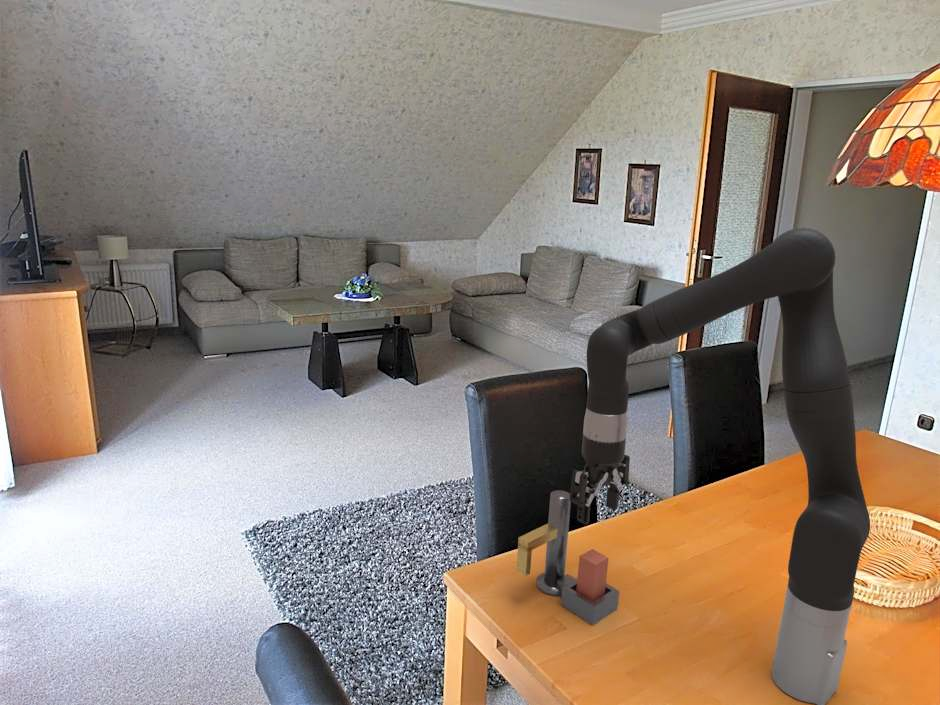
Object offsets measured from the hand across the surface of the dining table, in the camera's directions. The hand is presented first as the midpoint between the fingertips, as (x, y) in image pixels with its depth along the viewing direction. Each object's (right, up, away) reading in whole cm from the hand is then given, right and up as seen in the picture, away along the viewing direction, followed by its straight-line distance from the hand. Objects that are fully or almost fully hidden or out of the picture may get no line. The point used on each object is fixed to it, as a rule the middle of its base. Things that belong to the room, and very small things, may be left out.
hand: (597, 515), depth 124 cm
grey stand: (-6, -18, +6) cm, 20 cm away
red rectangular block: (-1, -19, +5) cm, 20 cm away
